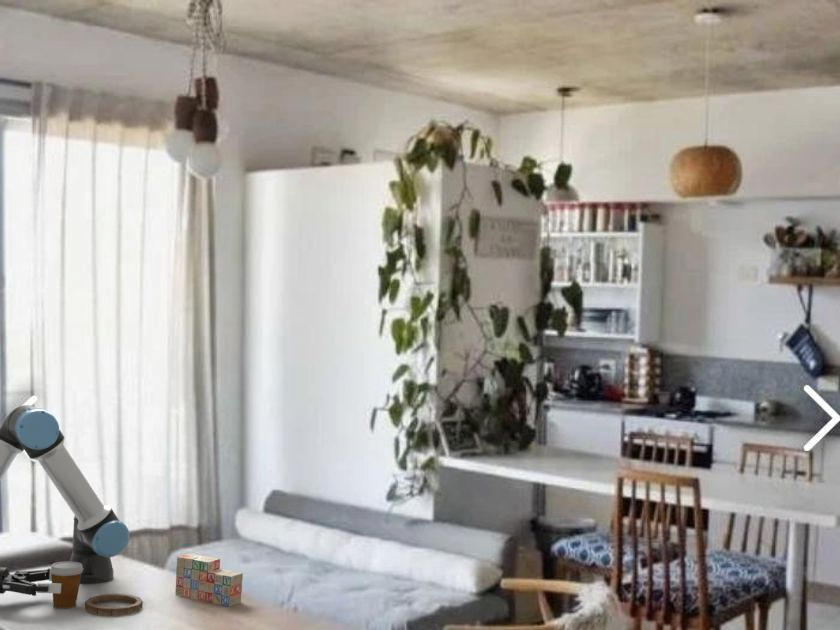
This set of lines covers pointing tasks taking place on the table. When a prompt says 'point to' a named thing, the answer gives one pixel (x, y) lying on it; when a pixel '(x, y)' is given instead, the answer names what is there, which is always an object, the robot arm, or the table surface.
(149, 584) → the table surface
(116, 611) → the walnut bead ring
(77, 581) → the disposable coffee cup
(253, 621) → the table surface
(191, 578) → the stack of blocks
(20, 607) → the table surface
